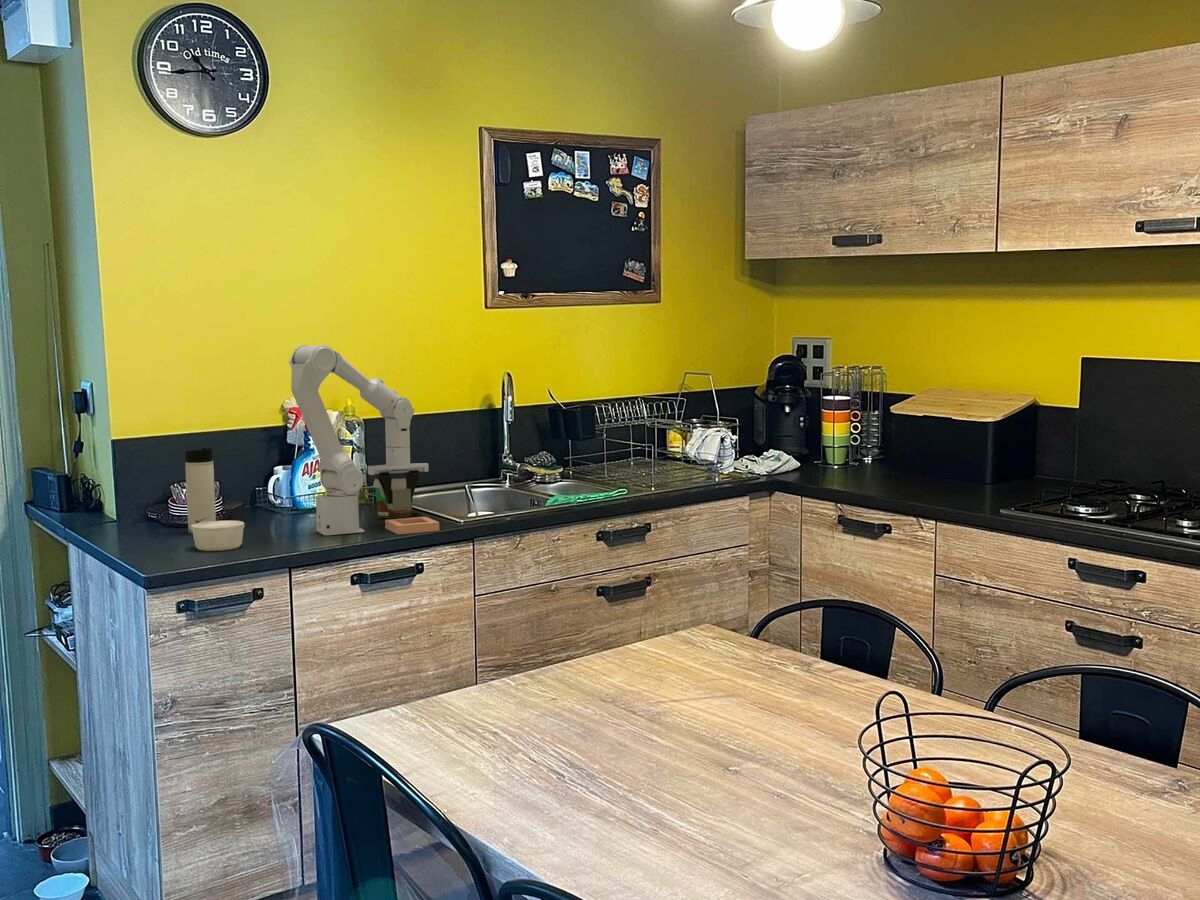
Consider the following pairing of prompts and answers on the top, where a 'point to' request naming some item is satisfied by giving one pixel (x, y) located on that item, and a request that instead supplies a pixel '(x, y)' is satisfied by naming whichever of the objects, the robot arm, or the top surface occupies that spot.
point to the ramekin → (218, 535)
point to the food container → (381, 499)
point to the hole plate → (412, 525)
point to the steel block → (400, 499)
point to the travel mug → (200, 486)
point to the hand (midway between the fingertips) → (399, 502)
